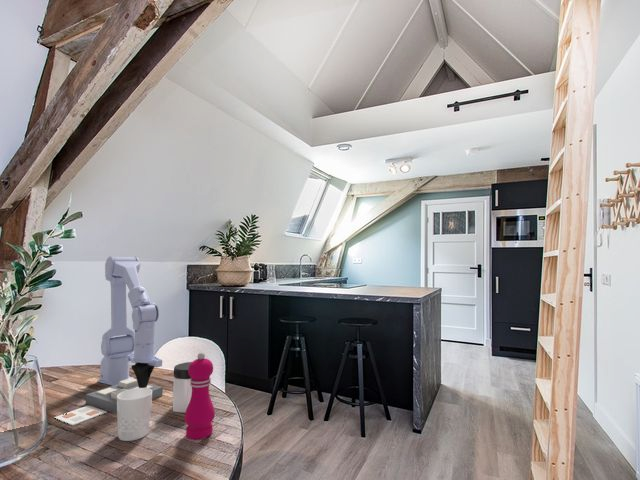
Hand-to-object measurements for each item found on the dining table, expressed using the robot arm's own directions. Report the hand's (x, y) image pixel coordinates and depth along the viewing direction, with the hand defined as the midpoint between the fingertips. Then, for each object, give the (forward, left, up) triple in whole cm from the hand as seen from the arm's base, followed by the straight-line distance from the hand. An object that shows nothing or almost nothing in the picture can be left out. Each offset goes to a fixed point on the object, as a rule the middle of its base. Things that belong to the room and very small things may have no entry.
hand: (143, 387), depth 113 cm
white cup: (+19, -17, -3) cm, 25 cm away
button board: (-3, -4, -3) cm, 6 cm away
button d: (0, 0, -2) cm, 2 cm away
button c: (0, -7, -1) cm, 7 cm away
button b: (-7, 0, -1) cm, 7 cm away
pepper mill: (+33, -9, -3) cm, 34 cm away
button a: (-7, -7, -2) cm, 10 cm away
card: (-3, -17, -3) cm, 17 cm away
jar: (+18, +1, -3) cm, 18 cm away
